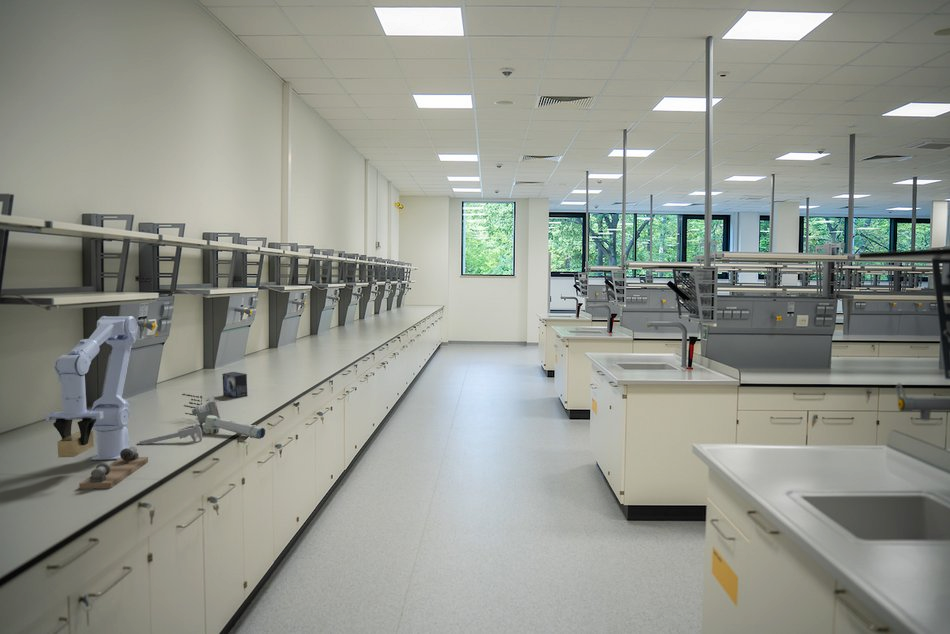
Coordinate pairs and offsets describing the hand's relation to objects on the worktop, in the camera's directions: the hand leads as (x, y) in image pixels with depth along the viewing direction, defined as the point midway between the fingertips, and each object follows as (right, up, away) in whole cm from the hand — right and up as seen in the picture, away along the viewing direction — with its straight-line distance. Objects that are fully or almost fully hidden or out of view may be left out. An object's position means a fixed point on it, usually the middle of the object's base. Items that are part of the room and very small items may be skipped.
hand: (76, 444), depth 171 cm
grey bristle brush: (+8, -4, +59) cm, 60 cm away
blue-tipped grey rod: (+28, -6, +42) cm, 50 cm away
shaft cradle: (+11, -9, 0) cm, 14 cm away
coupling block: (0, -2, 0) cm, 2 cm away
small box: (+2, -1, +108) cm, 108 cm away
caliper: (+10, -7, +32) cm, 34 cm away
